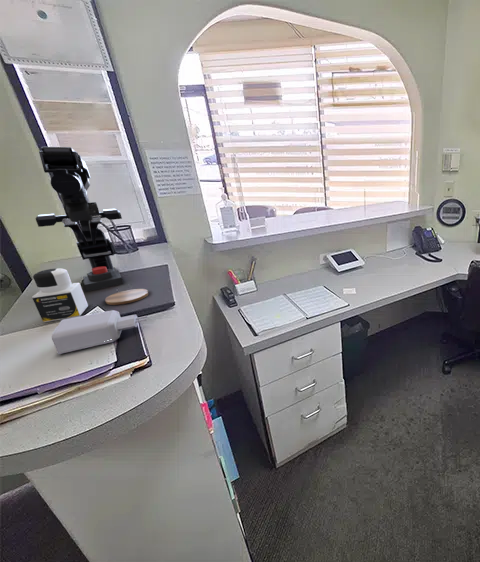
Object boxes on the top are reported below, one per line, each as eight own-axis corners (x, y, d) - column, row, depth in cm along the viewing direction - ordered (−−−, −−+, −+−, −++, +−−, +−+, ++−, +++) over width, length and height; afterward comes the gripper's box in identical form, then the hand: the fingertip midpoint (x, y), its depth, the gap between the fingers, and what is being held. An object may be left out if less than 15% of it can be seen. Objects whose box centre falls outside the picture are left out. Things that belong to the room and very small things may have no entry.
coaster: (104, 297, 90) (103, 295, 90) (145, 288, 97) (144, 286, 96) (107, 308, 83) (106, 305, 83) (151, 297, 90) (150, 295, 89)
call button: (93, 273, 100) (91, 268, 99) (107, 270, 102) (105, 265, 101) (93, 275, 97) (91, 270, 97) (108, 273, 100) (106, 268, 99)
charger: (148, 335, 70) (59, 356, 62) (150, 319, 77) (71, 336, 70) (142, 317, 68) (50, 336, 61) (145, 302, 75) (63, 317, 68)
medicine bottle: (42, 323, 76) (22, 277, 71) (54, 311, 82) (36, 268, 77) (80, 316, 79) (62, 272, 75) (89, 306, 85) (73, 264, 80)
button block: (85, 283, 102) (81, 271, 100) (119, 276, 107) (116, 265, 106) (86, 291, 95) (82, 279, 93) (123, 283, 100) (119, 272, 99)
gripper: (24, 197, 79) (47, 255, 85) (115, 192, 91) (131, 244, 97) (27, 194, 87) (49, 248, 93) (112, 190, 99) (126, 238, 104)
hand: (90, 244), depth 96 cm, fingers closed
